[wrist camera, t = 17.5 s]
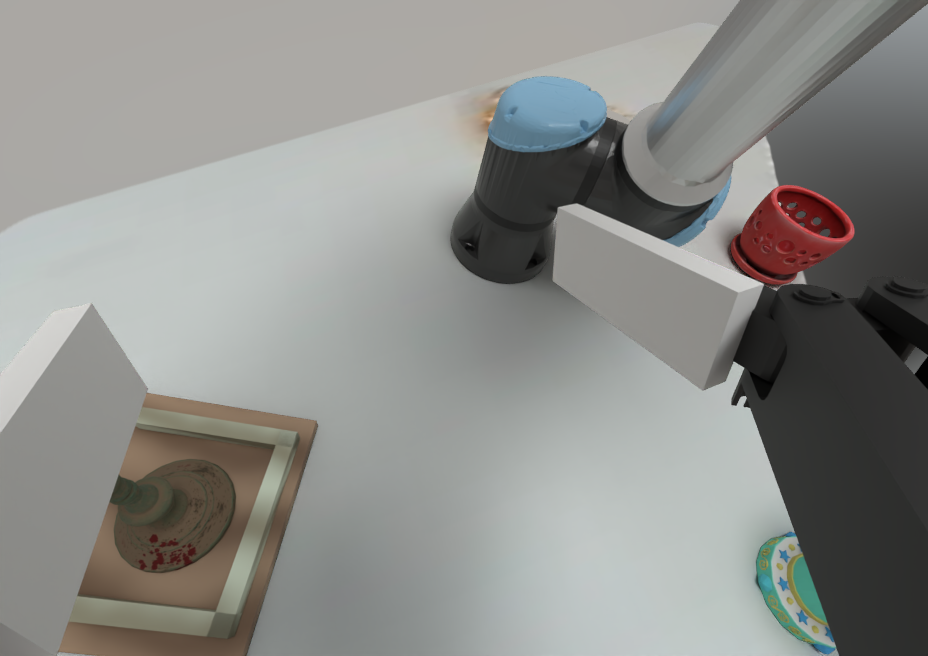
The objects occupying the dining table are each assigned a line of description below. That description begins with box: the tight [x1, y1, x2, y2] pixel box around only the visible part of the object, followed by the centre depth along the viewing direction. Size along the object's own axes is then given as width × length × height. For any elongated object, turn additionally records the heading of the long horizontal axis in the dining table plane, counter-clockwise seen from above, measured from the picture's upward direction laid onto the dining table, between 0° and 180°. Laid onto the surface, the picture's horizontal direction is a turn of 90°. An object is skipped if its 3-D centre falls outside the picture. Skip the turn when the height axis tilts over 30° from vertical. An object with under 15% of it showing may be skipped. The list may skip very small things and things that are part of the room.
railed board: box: [58, 393, 318, 656], centre depth 36 cm, size 20×18×4 cm
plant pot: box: [731, 185, 854, 284], centre depth 68 cm, size 13×13×12 cm
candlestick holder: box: [109, 459, 236, 573], centre depth 23 cm, size 9×9×30 cm
